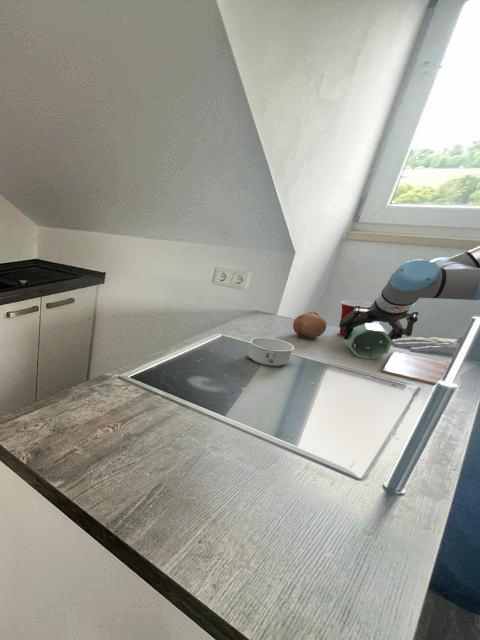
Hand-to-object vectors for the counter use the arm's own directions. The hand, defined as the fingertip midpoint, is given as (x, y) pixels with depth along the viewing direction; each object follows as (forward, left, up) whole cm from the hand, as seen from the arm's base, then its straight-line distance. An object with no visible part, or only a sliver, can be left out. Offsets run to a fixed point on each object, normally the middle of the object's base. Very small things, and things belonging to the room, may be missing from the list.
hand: (365, 338), depth 126 cm
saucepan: (-14, +36, -4) cm, 39 cm away
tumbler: (-3, +2, -4) cm, 5 cm away
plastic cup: (+13, -6, -4) cm, 15 cm away
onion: (+11, +10, -4) cm, 16 cm away
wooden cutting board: (-14, -4, -4) cm, 16 cm away
